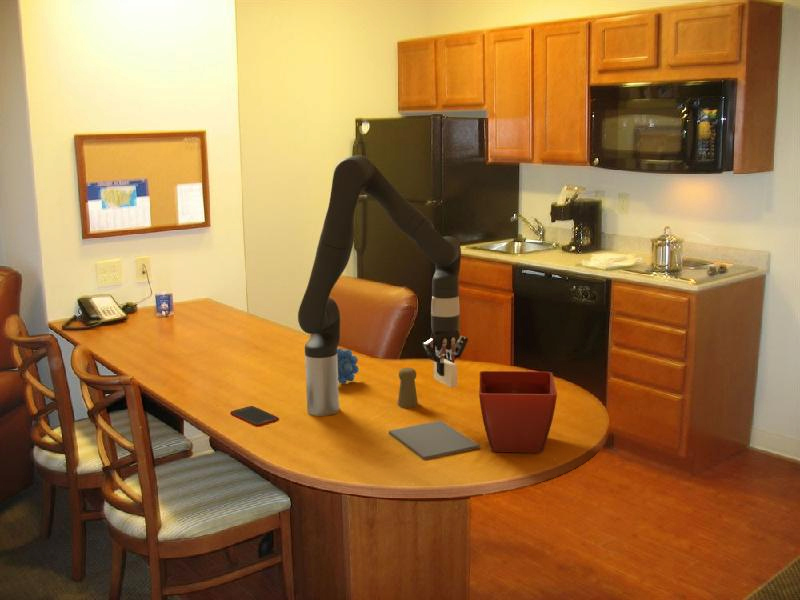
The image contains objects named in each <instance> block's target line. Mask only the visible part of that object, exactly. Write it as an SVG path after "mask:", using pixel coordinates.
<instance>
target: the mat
mask: <svg viewBox="0 0 800 600" xmlns="http://www.w3.org/2000/svg"><path fill="white" fill-rule="evenodd" d="M388 435H390V436H391V437H393V438H394V439H395V440H396V441H398V442H399V443H400V444H401V445H403V446H405V447H406V448H407V449H408V450H410V451H411V452H413V454H415V455H417V456H418V457H419V458H420V459H422V460H423V461H425V460H429V459H435V458H439V457H444V456H448V455H453V454H457V453H463V452H466V451H470V450H476V449H479V448H480V445H479V444H478V443H477V442H475V441H474V440H472V439H470V438H468V437H467V436H466V435H464V434H463V433H461V432H459V431H458V430H456V429H455V428H453V427H451V426H450V425H449V424H447V423H445V422H444V421H442V420H437V421H436V420H435V421H432V422H426V423H422V424H417V425H412V426H406V427H401V428H397V429H391V430H388Z"/></svg>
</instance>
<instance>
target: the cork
mask: <svg viewBox="0 0 800 600" xmlns="http://www.w3.org/2000/svg"><path fill="white" fill-rule="evenodd" d="M398 378H399V380H400V383H399V390H398V397H397V398H398V400H397V406H398V408H399V407H400V408H403V409H412V408H416V407H418V406H419V401H418V395H417V387H416V382H415V381H416V379H417V371H416V369H415V368H413V367H403V368H400V369H399V371H398ZM417 405H418V406H417ZM415 406H416V407H415Z"/></svg>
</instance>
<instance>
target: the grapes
mask: <svg viewBox="0 0 800 600" xmlns="http://www.w3.org/2000/svg"><path fill="white" fill-rule="evenodd" d="M337 360H338V384H341V385H345V384H346V383H348V382H353V381H354V380H355V375H356V374H358V372H359V371H360V370H359V366H358V365H357V363H358V362H359V359H358V357H357V356H356V355H353V352H352V350H351V349H348V348H345V349H342V348H339V347H337Z"/></svg>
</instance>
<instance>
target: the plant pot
mask: <svg viewBox="0 0 800 600" xmlns="http://www.w3.org/2000/svg"><path fill="white" fill-rule="evenodd" d="M478 387H479V388H478V389H479V390H478V395H479V397H478V398H479V404H480V411H481V415H482V416H481V417H482V420H483V421H482V422H483V426H484V431H485V434H486V436H487V440H488V444H489V447H490V450H491V451H492V452H494V453H495V452H496V453H531V454H532V453H533V454H534V453H535V454H536V453H537V454H538V453H542V452H543V450H544V448H545V445H546V442H547V439H548V437H549V433H550V431H551V426H552V423H553V419H554V414H555V409H556V406H557V405H556V404H557V397H558V392H557V389H556V384H555V379H554V374H553V372H551V371H530V370H529V371H526V370H524V371H523V370H522V371H521V370H519V371H518V370H481V371H479V386H478Z"/></svg>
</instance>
